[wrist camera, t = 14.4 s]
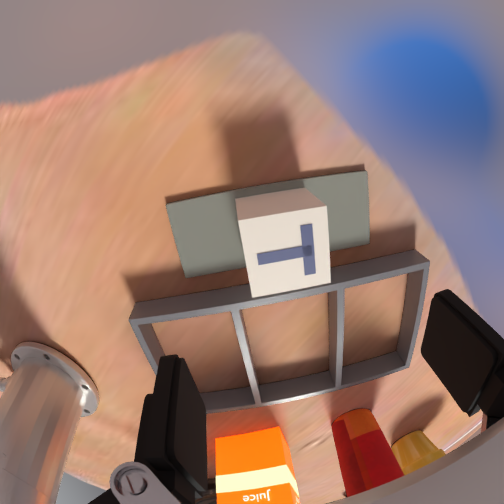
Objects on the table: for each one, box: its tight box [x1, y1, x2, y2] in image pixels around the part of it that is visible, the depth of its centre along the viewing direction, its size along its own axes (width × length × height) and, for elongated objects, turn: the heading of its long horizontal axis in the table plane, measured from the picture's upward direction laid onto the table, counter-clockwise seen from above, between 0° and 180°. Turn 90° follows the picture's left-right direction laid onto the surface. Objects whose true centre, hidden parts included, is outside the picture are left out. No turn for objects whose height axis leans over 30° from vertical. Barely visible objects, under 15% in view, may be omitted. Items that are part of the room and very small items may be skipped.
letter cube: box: [235, 188, 331, 298], centre depth 19 cm, size 5×5×5 cm
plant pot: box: [391, 430, 446, 475], centre depth 37 cm, size 10×10×10 cm
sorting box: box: [129, 250, 430, 414], centre depth 26 cm, size 25×13×2 cm, turn 99°
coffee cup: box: [332, 408, 405, 497], centre depth 28 cm, size 8×8×15 cm
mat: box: [166, 170, 370, 278], centre depth 22 cm, size 15×6×1 cm, turn 99°
